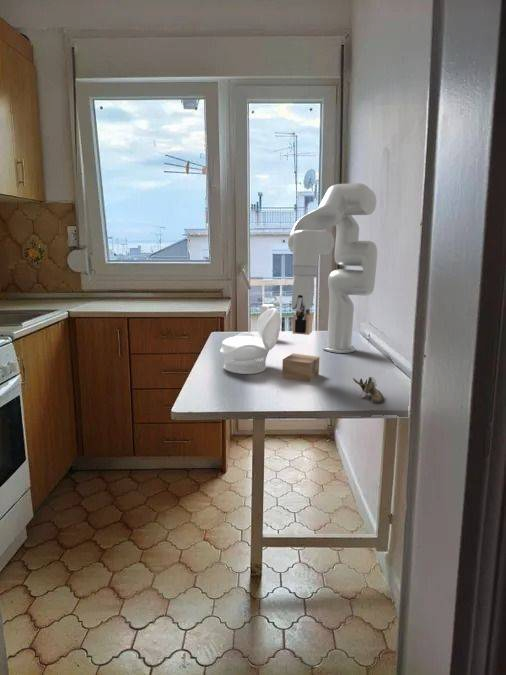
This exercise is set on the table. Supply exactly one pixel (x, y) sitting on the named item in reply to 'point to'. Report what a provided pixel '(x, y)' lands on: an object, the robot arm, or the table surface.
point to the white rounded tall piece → (266, 307)
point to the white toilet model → (252, 345)
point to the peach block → (308, 323)
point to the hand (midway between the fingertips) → (302, 330)
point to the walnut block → (300, 367)
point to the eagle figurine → (371, 390)
